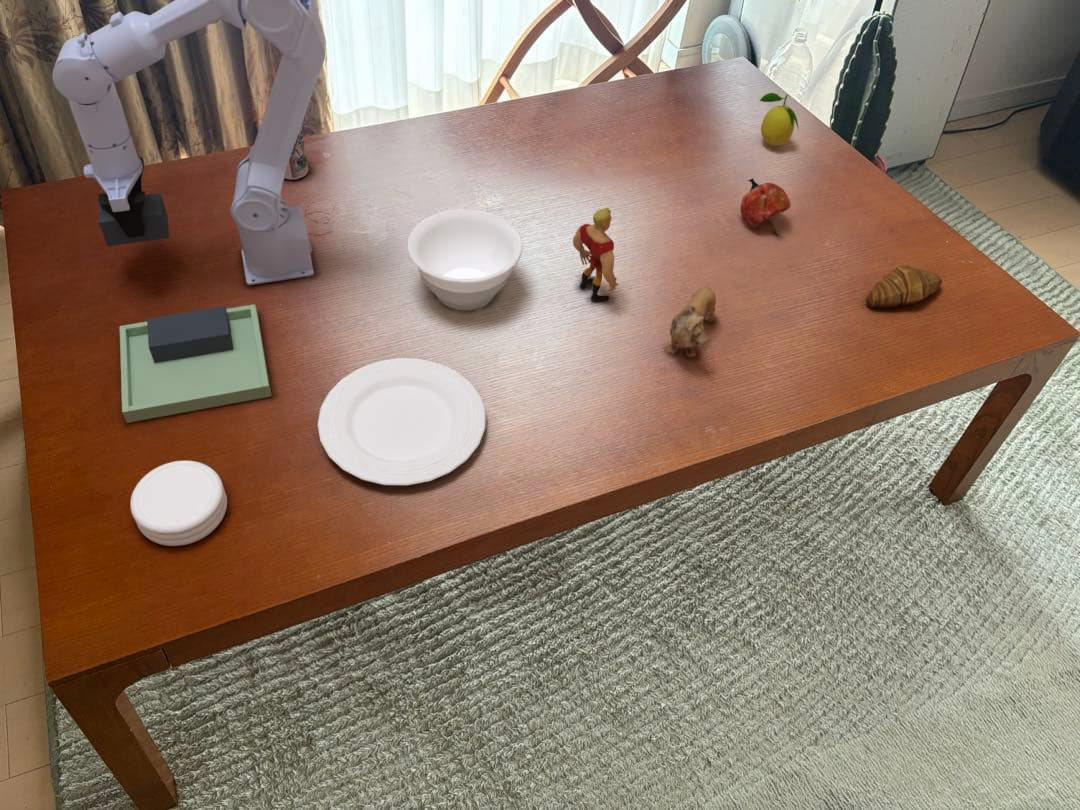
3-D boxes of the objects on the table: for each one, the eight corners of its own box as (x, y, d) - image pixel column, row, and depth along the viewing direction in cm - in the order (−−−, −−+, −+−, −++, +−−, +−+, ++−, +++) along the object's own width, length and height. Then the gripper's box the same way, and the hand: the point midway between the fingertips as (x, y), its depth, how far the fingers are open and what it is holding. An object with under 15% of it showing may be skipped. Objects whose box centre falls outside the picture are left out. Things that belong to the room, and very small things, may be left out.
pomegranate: (785, 234, 151) (763, 177, 150) (809, 222, 144) (785, 162, 143) (747, 249, 149) (724, 191, 149) (769, 238, 142) (745, 177, 142)
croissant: (920, 271, 143) (933, 246, 139) (950, 299, 139) (964, 274, 135) (851, 293, 139) (861, 267, 135) (879, 322, 135) (891, 297, 131)
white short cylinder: (118, 530, 104) (109, 512, 102) (172, 465, 111) (165, 447, 108) (194, 560, 103) (187, 543, 100) (244, 492, 109) (239, 474, 106)
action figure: (621, 308, 134) (635, 224, 122) (600, 316, 132) (613, 232, 121) (585, 269, 139) (595, 186, 127) (565, 277, 137) (574, 193, 126)
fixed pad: (229, 322, 126) (225, 305, 124) (233, 349, 123) (229, 333, 121) (152, 334, 124) (146, 318, 122) (154, 363, 121) (148, 347, 118)
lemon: (750, 134, 166) (763, 83, 158) (782, 134, 166) (796, 83, 159) (760, 156, 161) (774, 104, 154) (792, 155, 162) (808, 104, 154)
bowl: (387, 288, 133) (382, 241, 127) (466, 240, 142) (466, 194, 135) (464, 345, 127) (463, 298, 120) (542, 291, 135) (546, 245, 129)
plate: (345, 515, 108) (343, 506, 106) (301, 390, 120) (299, 380, 118) (510, 464, 114) (511, 454, 112) (452, 350, 126) (452, 340, 125)
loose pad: (167, 216, 130) (160, 192, 127) (169, 238, 127) (161, 214, 124) (107, 224, 129) (98, 200, 126) (107, 246, 125) (98, 222, 122)
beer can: (302, 183, 149) (291, 117, 140) (274, 178, 149) (261, 112, 140) (313, 167, 152) (303, 101, 143) (285, 162, 152) (273, 96, 143)
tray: (258, 315, 128) (255, 304, 127) (271, 396, 119) (268, 385, 117) (123, 337, 124) (119, 325, 123) (126, 423, 115) (121, 412, 113)
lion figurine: (697, 379, 125) (710, 331, 118) (659, 369, 126) (670, 321, 119) (717, 309, 135) (730, 262, 128) (681, 300, 135) (692, 252, 129)
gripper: (73, 108, 120) (105, 195, 130) (71, 173, 111) (104, 260, 122) (131, 103, 122) (157, 188, 132) (133, 166, 113) (161, 252, 123)
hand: (135, 222), depth 127 cm, fingers closed on loose pad, 5 cm apart
